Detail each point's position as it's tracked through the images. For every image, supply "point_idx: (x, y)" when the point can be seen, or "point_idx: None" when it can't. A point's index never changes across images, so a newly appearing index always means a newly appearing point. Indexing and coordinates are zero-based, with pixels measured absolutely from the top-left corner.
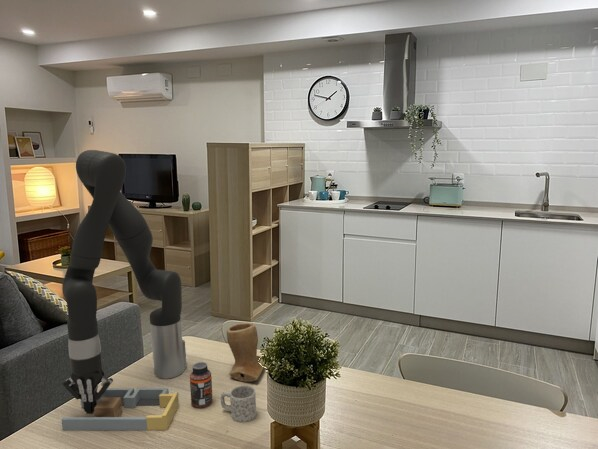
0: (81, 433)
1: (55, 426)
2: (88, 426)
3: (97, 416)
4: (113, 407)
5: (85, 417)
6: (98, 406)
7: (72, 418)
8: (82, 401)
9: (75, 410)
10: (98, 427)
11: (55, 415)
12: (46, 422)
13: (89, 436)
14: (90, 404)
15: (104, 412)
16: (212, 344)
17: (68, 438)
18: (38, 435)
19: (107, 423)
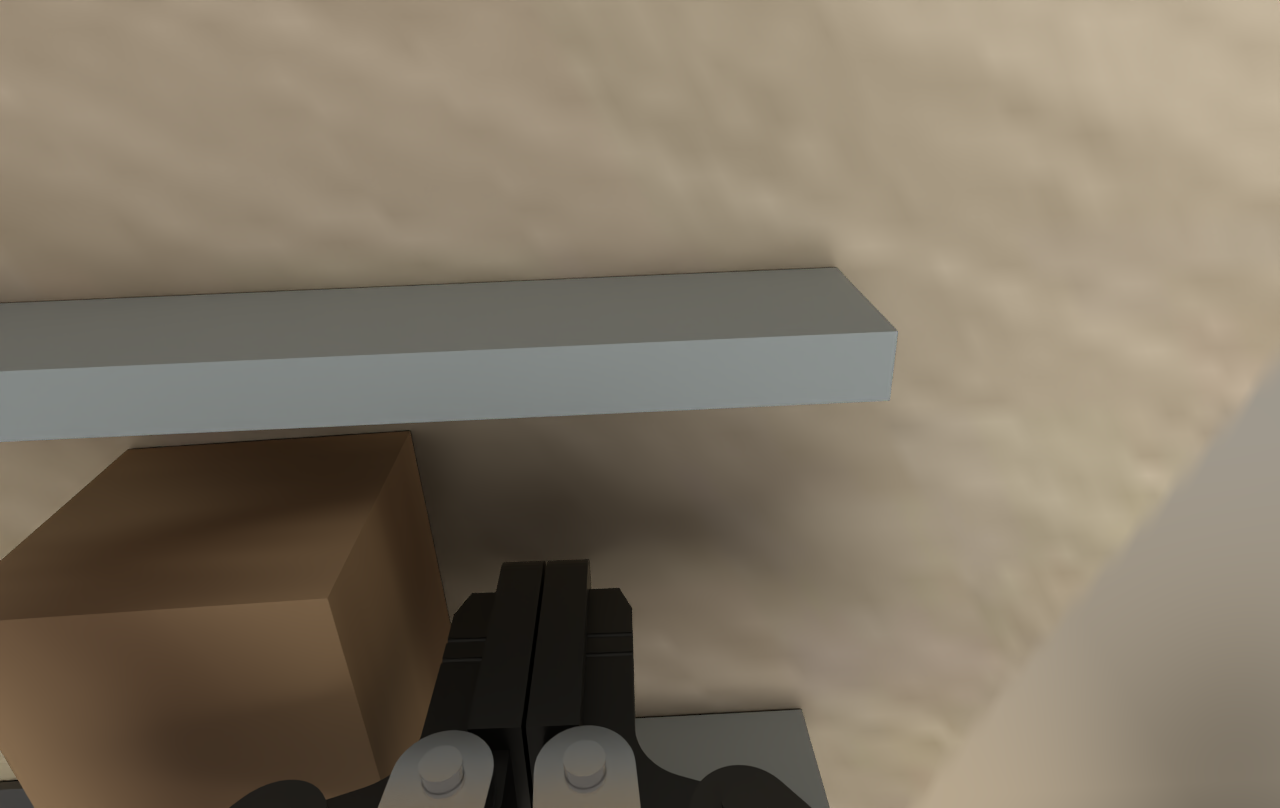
0: (489, 198)
1: (985, 348)
2: (403, 303)
3: (336, 496)
4: None
5: (452, 409)
6: (278, 647)
7: (691, 370)
8: (801, 785)
9: (855, 661)
10: (241, 305)
11: (1077, 564)
12: (1150, 426)
13: (302, 124)
14: (480, 688)
15: (174, 549)
16: None
17: (632, 54)
18: (1173, 119)
19: (29, 338)
